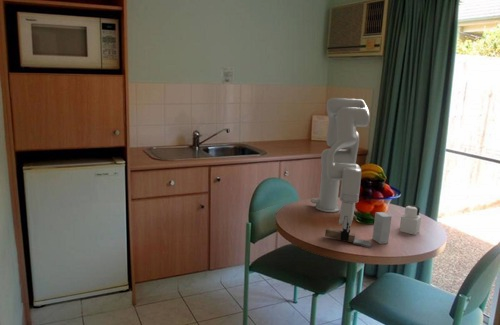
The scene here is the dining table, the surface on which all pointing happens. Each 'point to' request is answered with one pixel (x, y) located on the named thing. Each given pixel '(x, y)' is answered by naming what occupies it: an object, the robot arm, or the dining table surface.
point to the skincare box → (381, 227)
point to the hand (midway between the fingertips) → (344, 238)
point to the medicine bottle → (410, 220)
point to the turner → (337, 235)
